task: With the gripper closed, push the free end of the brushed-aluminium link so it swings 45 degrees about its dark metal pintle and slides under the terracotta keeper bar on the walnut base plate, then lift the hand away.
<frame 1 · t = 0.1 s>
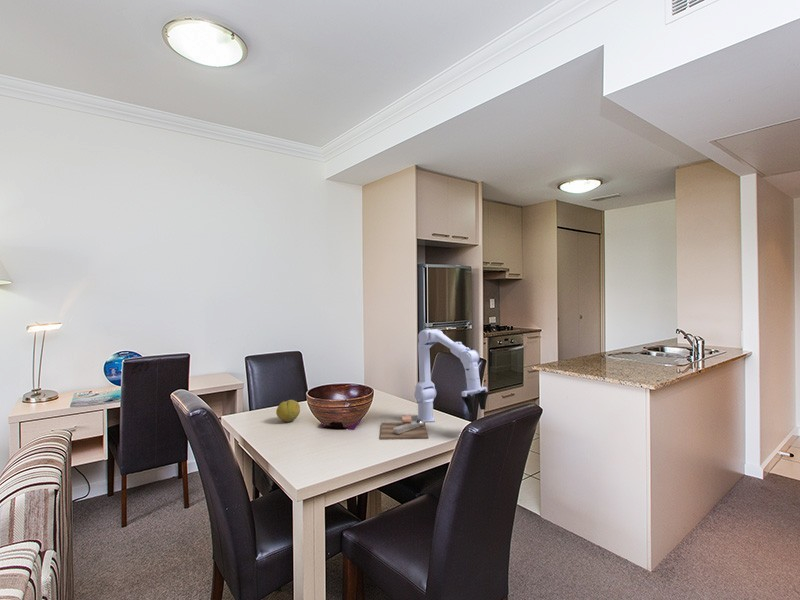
hand: (477, 411, 175), 11 cm above the table, tool pointing down, fingers open, 7 cm apart
base plate: (403, 431, 182), on the table
keeper: (419, 428, 186), resting on base plate
link: (409, 426, 181), point 2 cm above the table, hinge at 45.0°
fruit: (288, 421, 199), on the table
mounting bracket: (340, 427, 190), on the table
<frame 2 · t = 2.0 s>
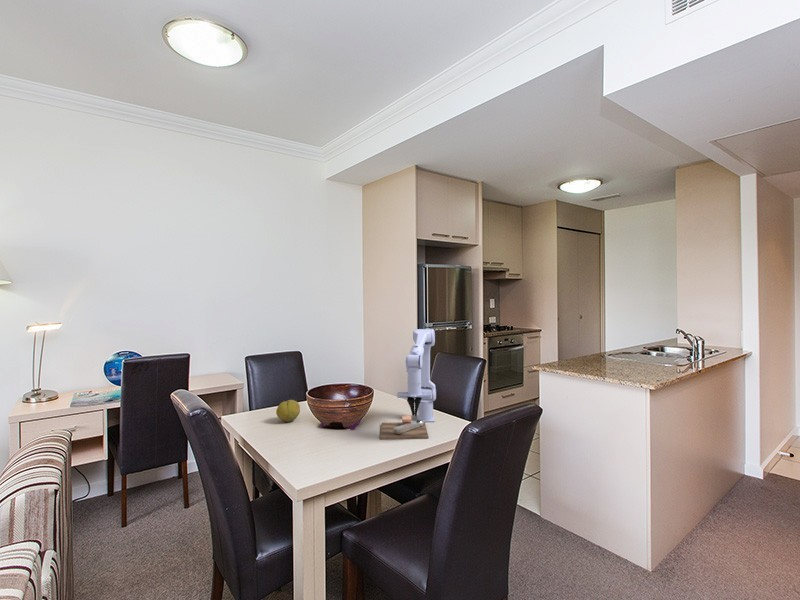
hand: (414, 415, 173), 9 cm above the table, tool pointing down, fingers closed
nothing on the table moved.
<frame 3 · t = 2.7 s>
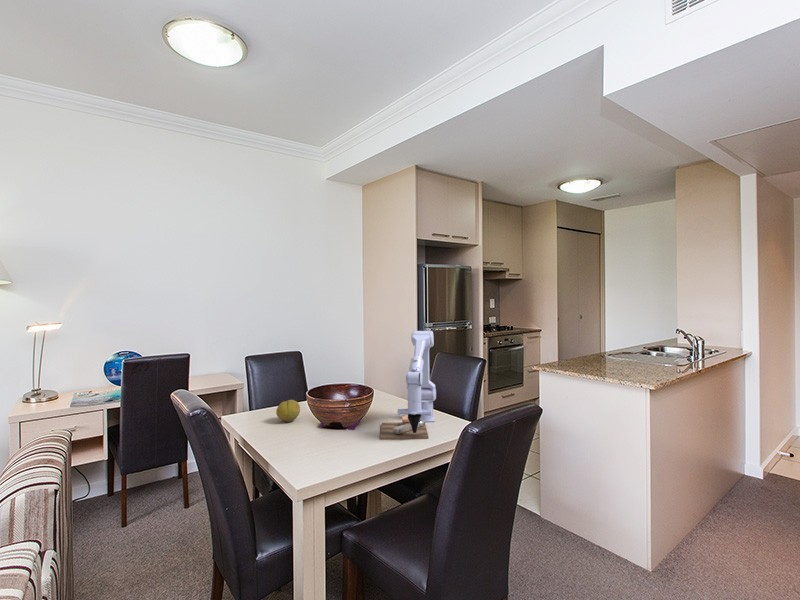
hand: (414, 432, 173), 2 cm above the table, tool pointing down, fingers closed
nothing on the table moved.
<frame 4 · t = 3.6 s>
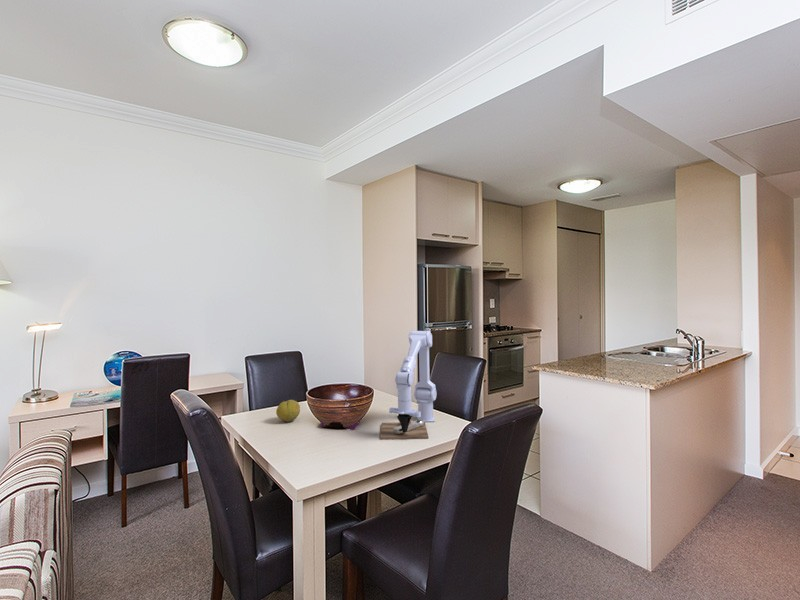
hand: (404, 431, 175), 2 cm above the table, tool pointing down, fingers closed
link: (409, 426, 181), point 2 cm above the table, hinge at 45.0°, touching gripper
everything else where it was.
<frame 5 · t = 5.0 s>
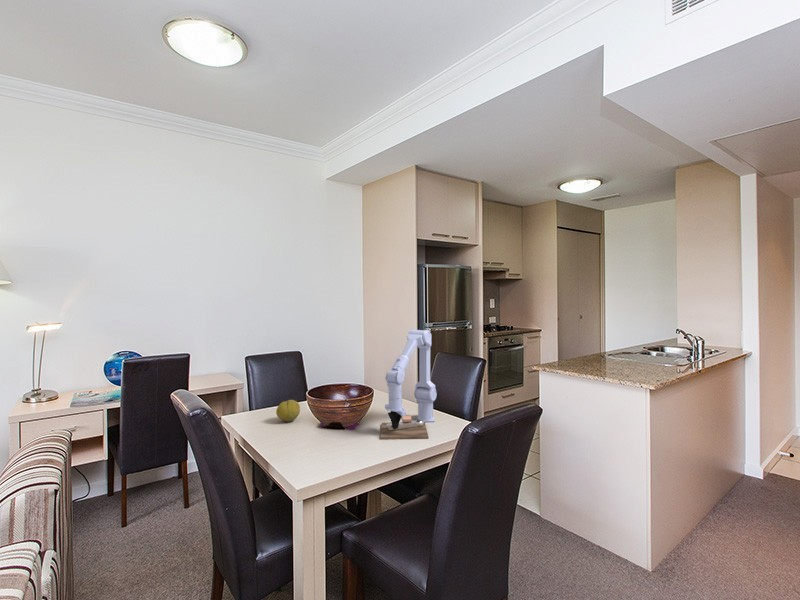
hand: (395, 428, 179), 2 cm above the table, tool pointing down, fingers closed
link: (405, 424, 183), point 2 cm above the table, hinge at 19.5°, touching gripper
everything else where it was.
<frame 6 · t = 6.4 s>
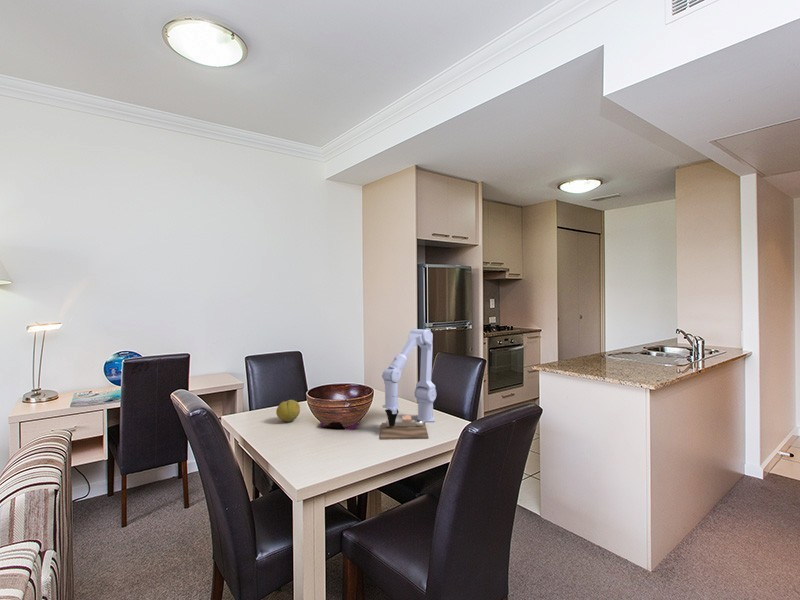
hand: (391, 425, 183), 2 cm above the table, tool pointing down, fingers closed
link: (404, 423, 186), point 2 cm above the table, hinge at -1.1°, touching gripper
everything else where it was.
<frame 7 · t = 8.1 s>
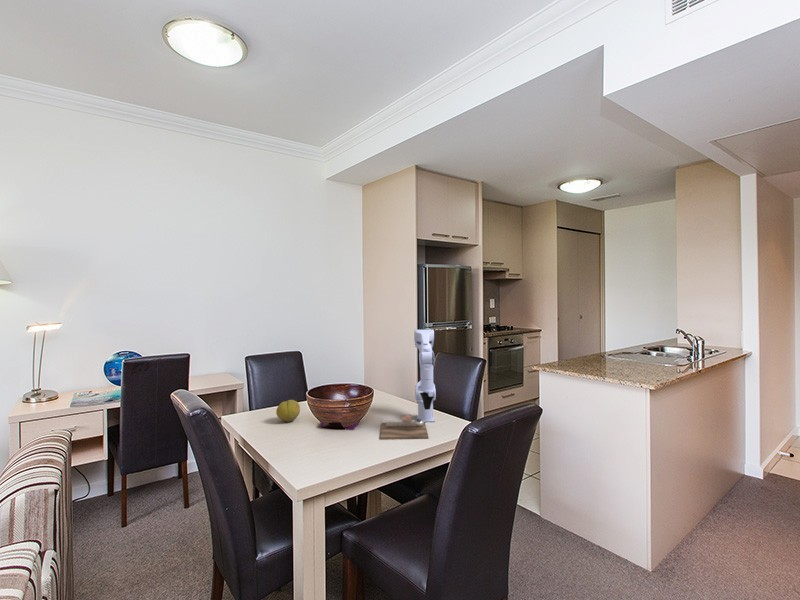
hand: (427, 409, 183), 9 cm above the table, tool pointing down, fingers closed
link: (404, 423, 186), point 2 cm above the table, hinge at -1.2°
everything else where it was.
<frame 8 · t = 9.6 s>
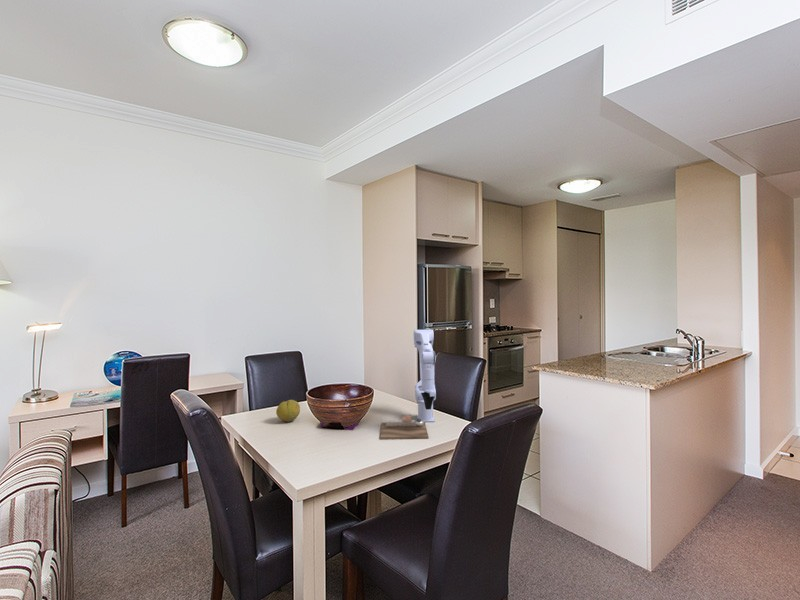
hand: (428, 409, 183), 9 cm above the table, tool pointing down, fingers closed
nothing on the table moved.
at the end: link at -1° (first picture: +45°) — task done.
